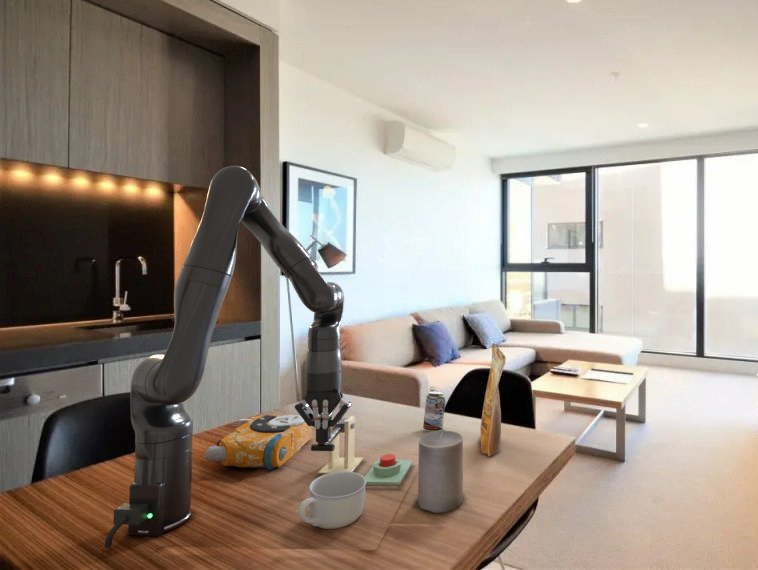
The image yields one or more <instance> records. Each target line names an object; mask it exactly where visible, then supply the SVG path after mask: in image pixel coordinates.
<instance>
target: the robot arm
mask: <svg viewBox="0 0 758 570" xmlns="http://www.w3.org/2000/svg"><path fill="white" fill-rule="evenodd" d="M206 196H207V197H206V202H205V205H204V210H203V213H202V217H201V220H200V222H199V225H198V227H197V229H196V232H195V234H194V236H193V239H192V241H191V244H190V247H189V249H188V253H187V255H186V256H185V259H184V261H183V264H182V266H181V269H180V272H179V274H178V277H177V280H176V282H175V287H174V292H173V309H174V326H173V331H172V335H171V338H170V341H169V343H168V345H167V348H166V350H165V353H160V354H153V355H151V356H148V357H147V358H145V359H143V360H142V361H141V362H140V363H139V364H138V365H137V366H136V367H135V368H134V371H133V373H132V375H131V376H132V377H131V380H130V391H129V392H130V393H129V394H130V395H129V396H130V422H131V426H132V428H133V431H134V467H133V468H134V471H133V483H131V484H130V485H129V491H128V493H129V494H128V496H129V497H128V502H124V503H122V504H120V505H119V506H117V507H116V508H114V509H113V526H112V528H111V529H110V530H109V532H108V533H107V535H106V537H105V540H104V548H105V549H109V548H110V547H112V545H113V539H114V536H115V534H116V533H117V531H118V530H119V529H120V528H121V527H122V526H127V527H128V529H127V530H128V531H127V535H128V536H143V537H144V536H145V537H146V536H149V537H151V536H152V537H159V536H161V535H163V534H164V533H166V532H168V531H171V530H174V529H176V528H178V527H181V526H182V525H184V524H185V523H187V522H188V521H189V520H190V518H191V517H192V480H193V479H192V477H193V476H192V473H193V472H192V471H193V440H194V438H193V437H194V431H193V430H194V420H193V417H192V415H191V414H190V413H189V412H188V410H187V408H186V406H185V402H186V401H188V400H189V399H190V398H191V397H193V395H194V394H195V393H196V392H197V390H198V389H199V387H200V385H201V382H202V380H203V376H204V372H205V368H206V363H207V360H208V359H207V358H208V354H209V349H210V345H211V340H212V337H213V334H214V330H215V327H216V324H217V321H218V318H219V315H220V312H221V309H222V305H223V302H224V300H225V297H226V295H227V292H228V290H229V286H230V284H231V282H232V281H231V280H232V278H233V275H234V270H235V266H236V258H237V247H238V245H237V243H238V236H239V235H238V234H239V230H240V226H241V224H243V225H244V227H246V228H247V229H248V230H249V231H250V232H251V234H253V236H254V237H255V238H256V239H257V240H258V242H259V243H260V245H261V246H262V247H263V248H264V250H265V251H266V253H267V254H268V256H269V257H270V259H272V261H273V262H274V263H275V265H276V266H277V267H278V269H279V270H280V271H281V272H282V273H283V275H284V276H285V277H286V278H287V279H288V280H289V281H290V283H291V285H292V287H293V289H294V291H295V293H296V294H297V296H298V298H299V300H300V301H301V303H302V305H304V307H306V309H308V310H309V311H311V312H312V313H313V321H312V323H311V324H310V326H309V327H308V331H307V354H306V362H305V363H306V368H305V369H306V370H305V390H306V393H305V395H304V396H303V398H304V399H303V400H301V401H300V402H298V403H297V404H295V405H294V409H295V411H296V412H297V413H298V415H300V416H301V417H302V418H303V420H304V421H305V422H306V424H307V425H308V426H311V427H313V428H315V442H316V443H317V444H318V445H326V444H327V443H328V441H329V440H330V435H331V426H332V427H333V426H335V425H336V424H337V423H338V422H339V421H340V420H341V419H343V417H344V416H345V415H346V413H347V412H348V411H349V410H350V408H351V407H352V405H353V403H352V402H351V401H347V400H346V399H344V394H343V393H342V366H343V363H342V352H341V325H342V322H343V315H344V309H345V293H344V291H343V288H342V287H341V286H340V285H339V284H338V283H337V282H336V283H335V282H333V281H326V280H325V278H324V277H323V276H322V274H321V273H320V272H319V265H318V263H317V262H316V260H315V259H314V257H313V256H312V255H311V254H310V252H309V251H308V250H307V249H306V248H305V246H304V245H303V244H302V242H300V241H299V240H298V238H296V237H295V236H294V235H293V233H291V231H289V230H288V229H287V228H286V227H285V226H284V225H283V224H282V223H281V222H280V221H279V220H278V218H277V217H276V215H275V214H274V213H273V212H272V210H271V209H270V207H269V205H268V203H267V202H266V200H265V197H264V196H263V194H262V190H261V187H260V185H259V183H258V181H257V179H256V178H255V176H254V175H253V173H251V171H249V170H248V169H246V168H244V167H242V166H239V165H229V166H226V167H223V168H221V169H220V170H218V171H217V172H216V173H215V174H214V175H213V177H212V178H211V181H210V183H209V188H208V192H207V195H206ZM338 405H339V406H338ZM337 407H338V410H339V411H337V413H336V414H335V416H334V417H333V415H334V413H335V412H334V411H335V410H336V409H337ZM332 418H333V419H332Z"/></svg>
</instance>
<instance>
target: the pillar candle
mask: <svg viewBox="0 0 758 570" xmlns="http://www.w3.org/2000/svg"><path fill="white" fill-rule="evenodd" d="M463 438H464V437H463V435H462V434H460V433H459V432H456V431H452V430H440V431H434V432H433V431H429V432H427V433H425V434H422V435H421V436H420V437H419V438H418V440H417V441H418V475H417V476H418V479H417V480H418V483H417V485H418V488H417V489H418V491H417V493H418V495H417V497H418V498H417V503H418V504H417V505H418V507H419V508H420V509H422V510H425V511H427V512H431V513H434V514H435V513H436V514H439V513H446V512H451V511H453V510H455V509H457V508H458V507H459V506H460V505H461V504H462V503H463V500H464V499H463V498H464V497H463V496H464V495H463V494H464V439H463Z"/></svg>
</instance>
